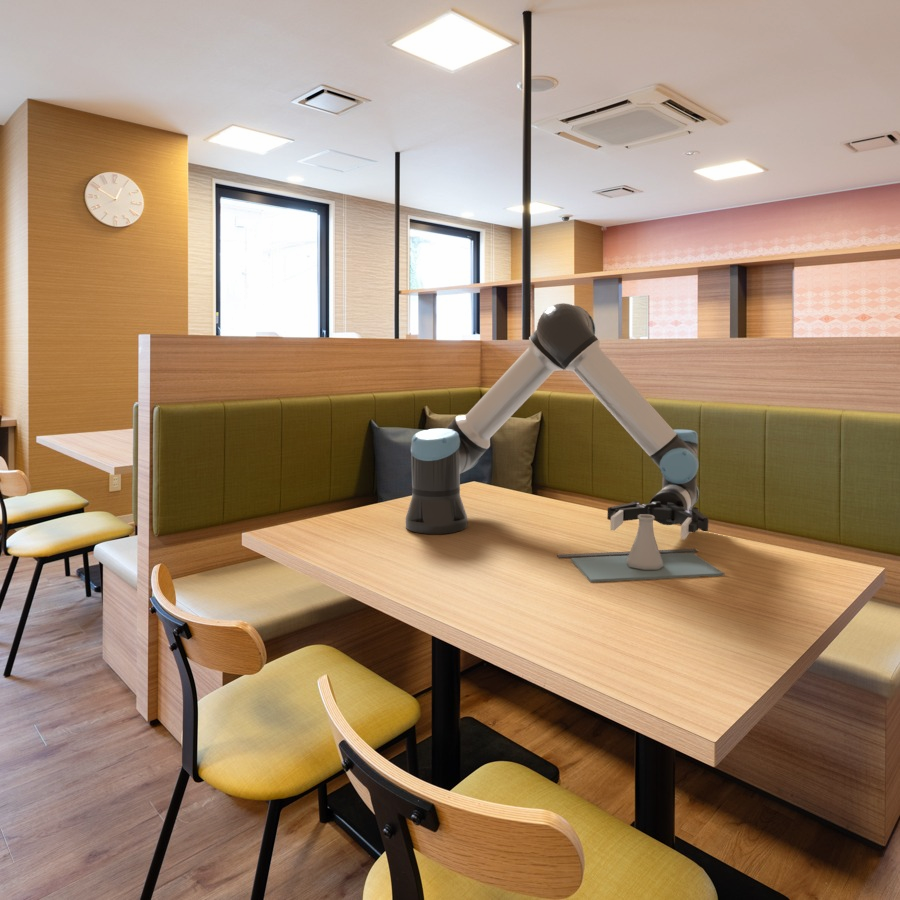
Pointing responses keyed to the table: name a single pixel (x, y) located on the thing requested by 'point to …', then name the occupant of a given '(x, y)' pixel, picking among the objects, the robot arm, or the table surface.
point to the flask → (645, 546)
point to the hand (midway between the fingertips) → (646, 527)
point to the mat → (620, 571)
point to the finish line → (621, 553)
